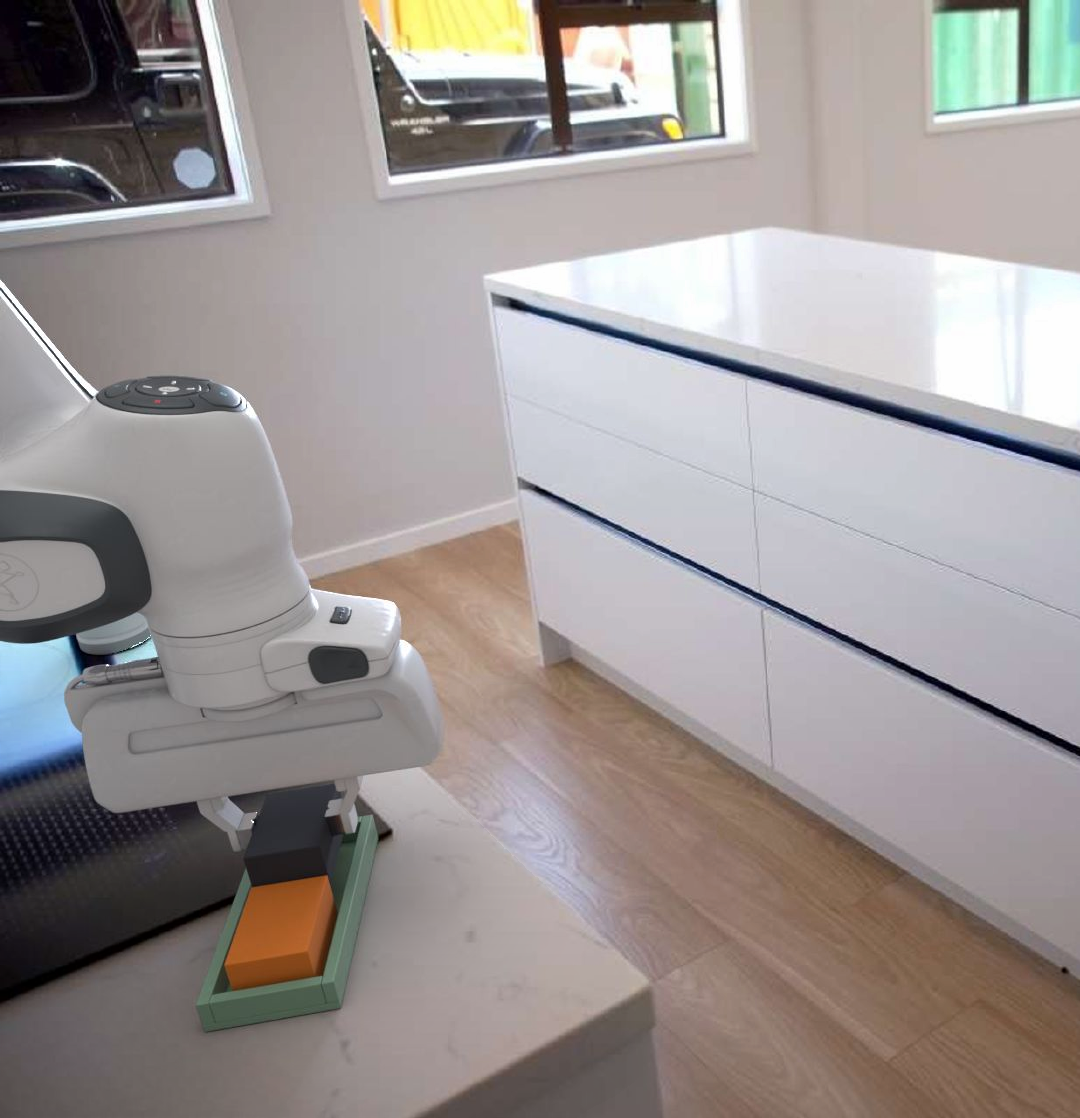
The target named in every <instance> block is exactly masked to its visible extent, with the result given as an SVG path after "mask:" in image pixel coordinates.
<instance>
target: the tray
mask: <svg viewBox="0 0 1080 1118" xmlns="http://www.w3.org/2000/svg"><path fill="white" fill-rule="evenodd" d="M357 819H358V823H357V827H356V831H355V833H350V834H344V835H343V839H342V843H341V846H340V850H339V854H338V858H337V862H336V865H335V869H334V873H333V877H332V881H331V884H330V887H331V890H332V894H333V898H334V901H335V905H336V909H337V912H338V914H337V918H336V922H335V926H334V930H333V934H332V938H331V942H330V947H329V951H328V955H327V959H326V963H325V967H324V971H323V975H322V976H319V977H313V978H307V979H301V980H295V981H289V982H284V983H278V984H272V985H266V986H260V987H254V988H249V989H243V990H237V991H233V990H232V987H231V984H230V981H229V978H228V975H227V972H226V969H225V966H224V965H225V962H226V959H227V956H228V953H229V950H230V947H231V945H232V942H233V939H234V936H235V933H236V930H237V927H238V924H239V922H240V919H241V916H242V913H243V910H244V907H245V904H246V901H247V899H248V896H249V893H250V890H251V888H252V885H251V882H250V879H249V876H248V873H247V869H246V868H245V869H244V872H243V875H242V877H241V880H240V883H239V885H238V888H237V891H236V894H235V897H234V899H233V901H232V905H231V908H230V910H229V913H228V916H227V919H226V921H225V924H224V927H223V930H222V932H221V935H220V938H219V940H218V943H217V946H216V949H215V952H214V954H213V957H212V960H211V963H210V965H209V968H208V970H207V973H206V976H205V979H204V981H203V984H202V987H201V990H200V992H199V995H198V998H197V1001H196V1003H195V1008H196V1010H197V1014H198V1016H199V1020H200V1022H201V1025H202V1028H203V1030H204V1031H203V1032H204V1033H208V1032H213V1031H219V1030H224V1029H225V1030H226V1029H229V1028H230V1029H231V1028H236V1027H242V1026H247V1025H252V1024H258V1023H264V1022H270V1021H275V1020H281V1019H286V1018H287V1019H288V1018H293V1017H298V1016H305V1015H310V1014H315V1013H321V1012H327V1011H333V1010H338V1009H341V1008H342V1005H343V1000H344V996H345V992H346V987H347V982H348V977H349V973H350V968H351V963H352V959H353V955H354V950H355V947H356V941H357V937H358V932H359V927H360V923H361V918H362V914H363V909H364V905H365V901H366V896H367V891H368V887H369V884H370V883H369V882H370V879H371V874H372V869H373V865H374V860H375V855H376V851H377V847H378V841H379V834H378V831H377V826H376V823H375V820H374V815H373V814H369V815H363V816H357Z"/></svg>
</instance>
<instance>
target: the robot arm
mask: <svg viewBox="0 0 1080 1118" xmlns="http://www.w3.org/2000/svg"><path fill="white" fill-rule="evenodd" d="M275 457H276V456H275V454H274V451H273V449H272V446H271V443H270V441H269V438H268V435H267V433H266V431H265V429H264V426H263V425H262V422H261V420H260V419H259V417H258V415H257V413H256V412H255V410H254V408H253V406H252V405H251V404H250V403H249V402H248V400H247V399H246V398H245V397H244V396H243V395H242V394H240V393H239V392H238V391H236V389H233V388H231V387H229V386H227V385H225V384H222V383H219V382H216V381H212V379H207V378H202V377H195V376H189V375H188V376H187V375H150V376H149V375H148V376H146V377H141V378H134V379H133V378H132V379H124V380H121V381H119V382H116V383H113V384H110V385H107V386H105V387H103V388H101V389H100V390H99V391H98V390H97V389H95V387H93V386H92V385H91V384H90V383H88V381H86V380H85V379H84V378H83V377H82V376H81V375H80V374H79V373H78V372H77V371H76V370H75V368H73V367H72V365H71V364H70V363H69V362H68V361H67V359H65V357H64V356H63V355H62V353H61V352H60V351H59V350H58V348H57V347H56V346H55V344H53V343H52V341H51V340H50V339H49V338H48V336H47V335H46V334H45V333H44V332H43V330H42V329H41V328H40V327H39V325H38V324H37V323H36V321H34V319H33V318H32V317H31V316H30V314H29V313H28V312H27V311H26V309H25V308H24V307H23V306H22V304H20V302H19V301H18V299H17V298H16V297H15V296H14V295H13V294H12V292H11V291H10V290H9V289H8V287H7V286H6V285H5V283H4V282H2V280H1V279H0V642H3V643H10V644H18V645H19V644H21V645H25V644H26V645H30V644H41V643H45V642H50V641H55V640H58V639H62V638H66V637H71V636H74V635H76V634H78V633H81V632H85V631H88V630H91V629H95V628H98V627H101V626H104V625H107V624H110V623H113V622H116V621H118V620H121V619H123V618H126V617H128V616H130V615H132V614H134V613H139V614H141V615H143V616H144V617H145V619H146V621H147V624H148V627H149V630H150V633H151V637H150V638H151V640H152V642H153V645H154V646H153V647H154V650H155V653H156V656H154V657H148V658H142V659H136V660H131V661H126V662H122V663H117V664H112V665H111V664H108V663H107V664H97V665H93V666H90V667H86V668H84V669H83V671H82V674H80V675H77V676H75V677H74V678H72V679H71V680H70V681H69V682H68V684H67V685H66V687H65V689H64V693H63V696H64V697H63V700H64V706H65V707H66V708H65V709H66V711H67V714H68V716H69V719H70V721H71V723H72V726H73V727H74V728H75V729H76V730H77V731H79V732H80V733H81V740H82V741H81V742H82V751H83V758H84V764H85V768H86V774H87V777H88V783H89V786H90V789H91V793H92V796H93V798H94V801H95V802H96V803H97V804H98V805H100V806H101V807H103V808H104V809H106V810H107V811H109V812H111V813H113V814H123V813H130V812H136V811H141V810H148V809H149V810H150V809H155V808H162V807H168V806H169V807H170V806H174V805H181V804H187V803H194V802H196V805H197V808H198V810H199V813H200V814H201V816H203V817H204V818H206V820H208V821H209V822H211V823H212V824H213V825H215V826H216V827H218V828H219V829H220V830H221V831H223V832H224V833H227V837H228V839H229V843H230V846H231V849H232V852H234V853H238V852H244V851H245V852H246V849H247V847H248V844H249V841H250V839H251V836H252V834H253V832H254V829H255V825H256V823H257V821H258V818H259V812H258V811H254V812H248V813H247V812H246V813H245V812H244V811H242V810H241V809H240V808H239V807H238V806H237V805H236V804H235V803H234V802H233V801H232V800H230V798H229V797H233V796H240V795H247V794H252V793H253V794H254V793H259V792H266V791H272V790H279V789H287V788H291V787H299V786H304V785H312V784H318V783H324V782H330V781H331V782H332V781H333V782H334V783H335V786H336V790H337V791H339V792H340V793H341V792H343V794H342V796H341V797H342V799H336V800H331V801H329V803H328V806H327V807H328V810H326V813H325V820H326V822H327V824H328V826H329V827H330V829H329V831H330V834H331V836H337V835H343V834H350V833H355V831H356V827H357V823H358V819H357V817H358V813H357V809H356V805H355V802H356V800H357V797H358V795H359V792H360V790H361V787H362V783H363V780H364V779H363V778H364V776H368V775H376V774H382V773H388V772H395V771H402V770H408V769H415V768H422V767H423V768H424V767H428V766H431V765H432V764H433V763H434V762H435V761H436V759H437V758H438V756H439V755H440V754H441V753H440V752H441V751H442V750H443V746H444V741H445V734H446V733H445V732H446V731H445V728H446V727H445V726H446V725H445V719H444V714H443V711H442V706H441V703H440V700H439V697H438V694H437V691H436V688H435V685H434V682H433V680H432V677H431V675H430V672H429V670H428V667H427V665H426V663H425V661H424V659H423V657H422V656H421V654H420V653H419V652H418V650H417V649H416V648H415V647H414V646H413V645H411V644H410V643H408V642H407V641H405V640H403V639H401V638H402V617H401V613H400V610H399V608H398V606H397V605H396V604H395V603H394V602H392V601H390V600H385V599H379V598H373V597H372V598H371V597H363V596H356V595H349V594H343V593H337V592H331V591H325V590H321V589H315V588H311V584H310V580H309V577H308V575H307V573H306V571H305V569H304V567H303V566H302V565H301V564H300V562H299V560H298V558H297V556H296V554H295V551H294V546H293V539H292V537H293V525H294V524H293V515H292V514H293V513H292V510H291V507H290V506H291V505H290V503H289V499H288V495H287V492H286V488H285V484H284V481H283V478H282V475H281V472H280V469H279V466H278V462H277V460H276V458H275ZM334 783H333V784H334Z"/></svg>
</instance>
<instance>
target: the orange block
mask: <svg viewBox="0 0 1080 1118" xmlns="http://www.w3.org/2000/svg"><path fill="white" fill-rule="evenodd" d="M337 914H338V912H337V909H336V905H335V901H334V898H333V894H332V890H331V887H330V883H329V879H328V876H327V875H326V876H319V877H313V878H307V879H301V880H295V881H288V882H282V883H276V884H270V885H264V886H257V887H252V888H251V890H250V893H249V896H248V899H247V901H246V904H245V907H244V910H243V913H242V916H241V919H240V922H239V924H238V927H237V930H236V933H235V936H234V939H233V942H232V945H231V947H230V950H229V953H228V956H227V959H226V962H225V965H224V966H225V969H226V972H227V975H228V978H229V981H230V984H231V987H232V990H233V991H237V990H243V989H249V988H254V987H260V986H266V985H272V984H278V983H284V982H289V981H295V980H301V979H307V978H313V977H319V976H322V975H323V971H324V967H325V963H326V959H327V955H328V951H329V947H330V942H331V938H332V934H333V930H334V926H335V922H336V918H337Z"/></svg>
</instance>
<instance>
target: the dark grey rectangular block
mask: <svg viewBox="0 0 1080 1118" xmlns="http://www.w3.org/2000/svg"><path fill="white" fill-rule="evenodd" d="M342 797H343V796H342V793H341V792H339V791H337V790H336V786H335V783H328V784H322V785H315V786H309V787H302V788H297V789H296V788H295V789H288V790H282V791H276V792H269V793H267V794H266V796H265V798H264V801H263V804H262V807H261V809H260V812H259V813H258V815H259V818H258V821H257V823H256V825H255V829H254V832H253V834H252V836H251V839H250V841H249V844H248V847H247V849H246V850H245V852H244V854H243V859H242V860H243V863H244V867H245V869H247V873H248V876H249V879H250V882H251V885H252V887H257V886H264V885H270V884H276V883H282V882H288V881H295V880H301V879H307V878H313V877H319V876H326V875H327V876H328V879H329V883H330V884H331V881H332V877H333V873H334V869H335V865H336V862H337V858H338V854H339V850H340V846H341V843H342V839H343V835H344V834H343V835H337V836H331V834H330V831H329V829H330V827H329V826H328V824H327V822H326V820H325V813H326V810H328V807H327V806H328V803H329V801H331V800H336V799H342Z"/></svg>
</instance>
